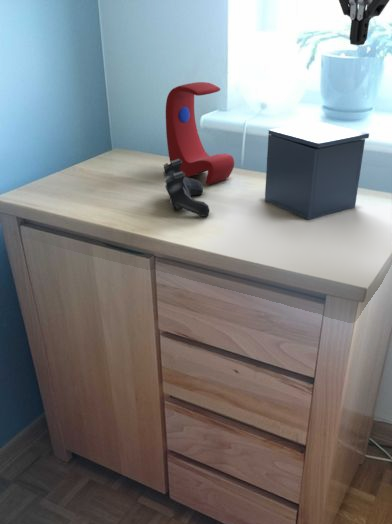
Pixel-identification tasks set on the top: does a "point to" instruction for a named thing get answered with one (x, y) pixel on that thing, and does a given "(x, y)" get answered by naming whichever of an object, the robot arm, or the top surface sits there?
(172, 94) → the chair
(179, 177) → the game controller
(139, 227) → the top surface
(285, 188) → the chest
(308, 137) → the chest lid
